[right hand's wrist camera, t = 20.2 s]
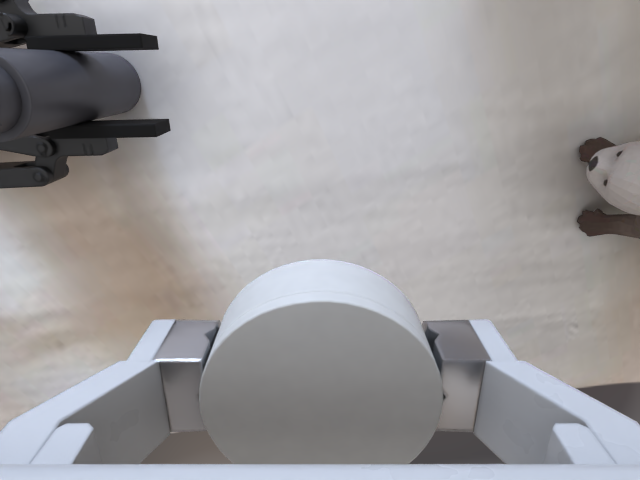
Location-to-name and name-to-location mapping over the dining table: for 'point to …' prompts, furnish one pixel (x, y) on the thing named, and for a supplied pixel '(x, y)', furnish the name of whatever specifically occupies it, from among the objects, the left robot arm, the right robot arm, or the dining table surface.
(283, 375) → the lid
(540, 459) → the right robot arm
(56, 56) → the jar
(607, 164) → the toy
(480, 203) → the dining table surface
